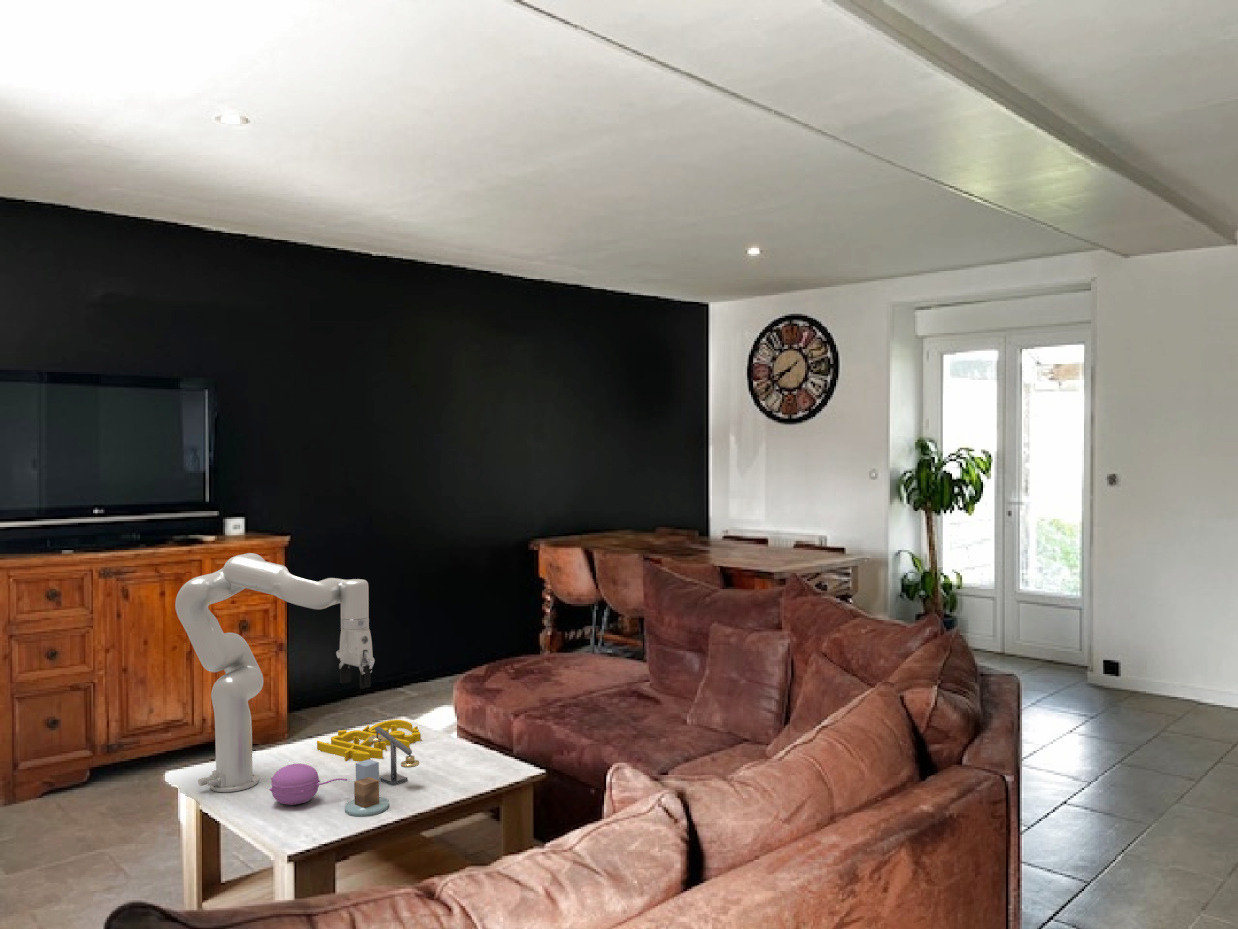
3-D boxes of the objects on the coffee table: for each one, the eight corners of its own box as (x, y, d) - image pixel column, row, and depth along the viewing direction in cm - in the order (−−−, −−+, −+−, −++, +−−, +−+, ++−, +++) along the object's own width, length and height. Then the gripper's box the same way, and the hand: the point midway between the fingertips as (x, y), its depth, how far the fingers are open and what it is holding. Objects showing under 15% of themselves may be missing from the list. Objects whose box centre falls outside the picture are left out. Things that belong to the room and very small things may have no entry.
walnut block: (364, 808, 240) (363, 785, 240) (354, 804, 243) (354, 781, 243) (379, 803, 243) (378, 780, 243) (369, 799, 246) (369, 776, 246)
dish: (360, 820, 235) (360, 815, 235) (336, 809, 242) (336, 805, 242) (397, 807, 243) (397, 802, 243) (372, 797, 251) (372, 793, 251)
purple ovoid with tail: (287, 793, 255) (286, 757, 255) (349, 798, 251) (349, 760, 251) (261, 809, 243) (261, 771, 243) (326, 814, 239) (326, 775, 239)
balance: (408, 791, 255) (407, 740, 255) (365, 776, 268) (364, 727, 268) (423, 786, 259) (422, 736, 259) (380, 771, 272) (379, 723, 272)
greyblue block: (365, 788, 258) (364, 766, 258) (355, 784, 261) (355, 763, 261) (379, 783, 262) (378, 762, 262) (369, 780, 265) (369, 759, 265)
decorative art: (387, 716, 323) (446, 730, 304) (387, 724, 323) (447, 739, 304) (301, 740, 296) (361, 757, 277) (302, 749, 296) (361, 767, 277)
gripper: (384, 625, 258) (384, 687, 258) (349, 618, 269) (349, 678, 269) (360, 629, 252) (361, 692, 252) (326, 622, 264) (326, 682, 264)
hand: (355, 685), depth 261 cm, fingers open, 9 cm apart
